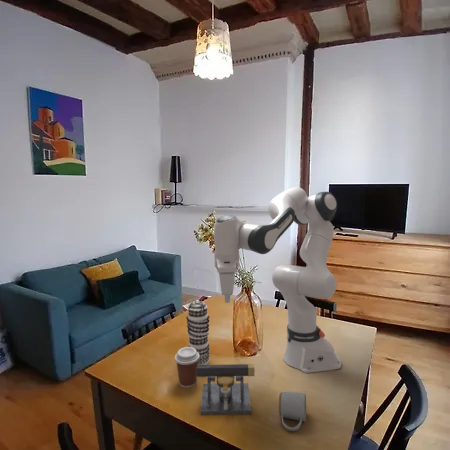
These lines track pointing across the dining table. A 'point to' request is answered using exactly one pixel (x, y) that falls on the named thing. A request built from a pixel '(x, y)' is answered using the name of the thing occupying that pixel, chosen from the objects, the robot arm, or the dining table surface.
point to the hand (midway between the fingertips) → (227, 298)
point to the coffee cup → (187, 366)
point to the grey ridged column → (199, 330)
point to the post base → (232, 403)
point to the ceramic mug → (292, 407)
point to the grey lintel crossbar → (225, 373)
